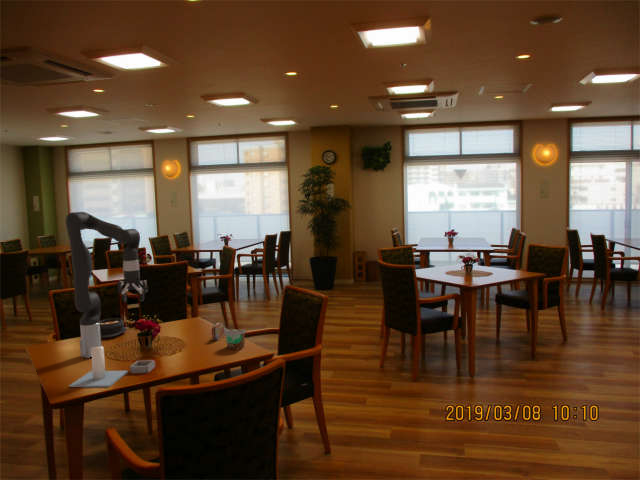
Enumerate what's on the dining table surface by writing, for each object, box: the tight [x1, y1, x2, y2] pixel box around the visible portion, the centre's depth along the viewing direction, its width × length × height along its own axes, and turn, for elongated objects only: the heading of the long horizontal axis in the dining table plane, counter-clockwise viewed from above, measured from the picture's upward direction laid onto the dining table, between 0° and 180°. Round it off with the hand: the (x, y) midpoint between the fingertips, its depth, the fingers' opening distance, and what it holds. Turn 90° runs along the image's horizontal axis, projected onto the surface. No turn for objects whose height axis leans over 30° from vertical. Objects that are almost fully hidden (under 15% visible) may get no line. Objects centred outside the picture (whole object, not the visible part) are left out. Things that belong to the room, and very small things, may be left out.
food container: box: [224, 327, 246, 350], centre depth 262 cm, size 12×6×10 cm, turn 68°
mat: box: [68, 370, 129, 388], centre depth 224 cm, size 18×18×1 cm
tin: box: [211, 321, 227, 341], centre depth 284 cm, size 15×3×8 cm, turn 168°
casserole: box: [99, 317, 128, 339], centre depth 300 cm, size 25×19×8 cm
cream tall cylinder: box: [91, 345, 106, 380], centre depth 224 cm, size 5×5×14 cm
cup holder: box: [129, 359, 156, 374], centre depth 235 cm, size 9×9×3 cm
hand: (133, 301), depth 248 cm, fingers open, 8 cm apart
